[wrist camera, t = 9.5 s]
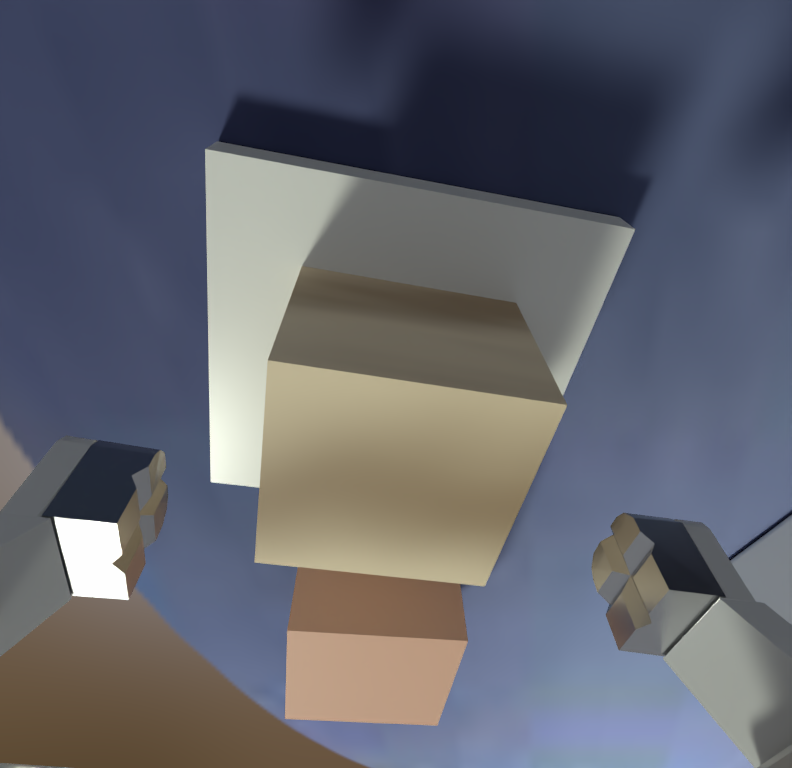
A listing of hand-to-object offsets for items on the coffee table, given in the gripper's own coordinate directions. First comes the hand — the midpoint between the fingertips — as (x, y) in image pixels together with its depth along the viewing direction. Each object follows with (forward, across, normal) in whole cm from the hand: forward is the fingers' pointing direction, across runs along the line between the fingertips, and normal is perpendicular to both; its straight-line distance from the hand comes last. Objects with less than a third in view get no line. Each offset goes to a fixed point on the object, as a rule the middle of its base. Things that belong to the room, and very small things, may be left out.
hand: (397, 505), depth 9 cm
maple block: (+6, 0, +1) cm, 6 cm away
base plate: (+7, 0, +1) cm, 7 cm away
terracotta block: (+7, -1, +11) cm, 13 cm away
